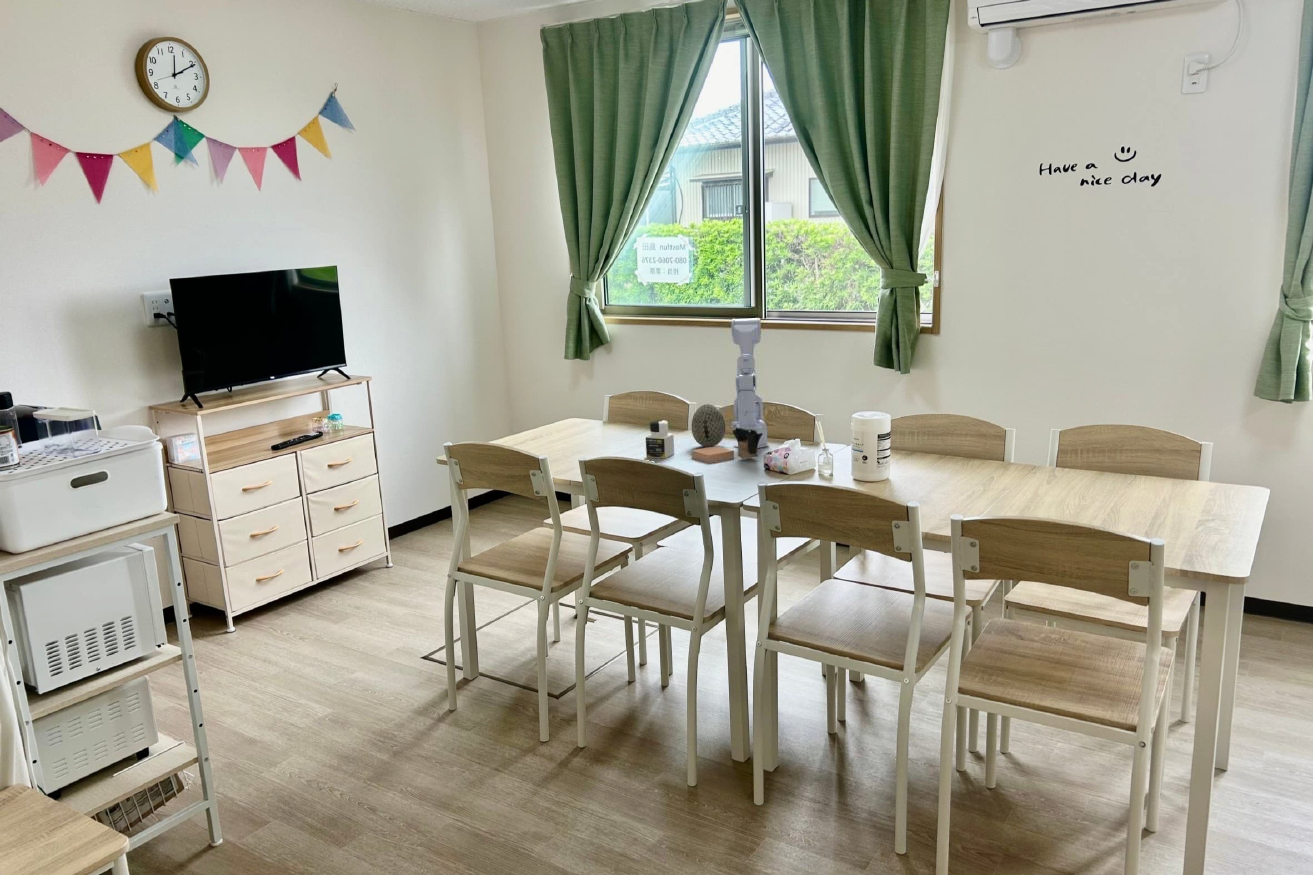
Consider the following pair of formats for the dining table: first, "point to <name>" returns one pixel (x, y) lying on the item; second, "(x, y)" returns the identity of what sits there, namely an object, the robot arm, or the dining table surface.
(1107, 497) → the dining table surface
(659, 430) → the medicine bottle
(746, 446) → the walnut block
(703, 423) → the decorative egg
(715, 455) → the terracotta slab
